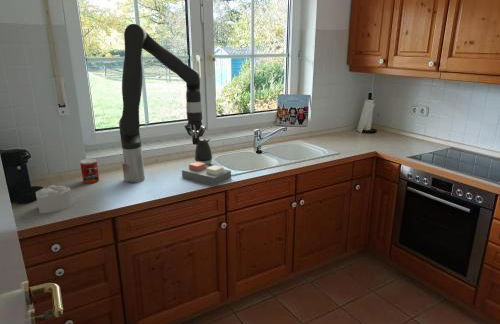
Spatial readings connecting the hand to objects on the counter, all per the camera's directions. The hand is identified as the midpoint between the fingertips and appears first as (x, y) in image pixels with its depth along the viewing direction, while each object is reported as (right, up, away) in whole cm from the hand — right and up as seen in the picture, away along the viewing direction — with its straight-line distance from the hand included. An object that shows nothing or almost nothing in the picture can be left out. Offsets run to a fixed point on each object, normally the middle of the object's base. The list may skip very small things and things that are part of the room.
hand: (196, 144), depth 188 cm
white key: (+10, -15, -2) cm, 18 cm away
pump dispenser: (+1, -11, +23) cm, 26 cm away
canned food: (-53, -19, -1) cm, 56 cm away
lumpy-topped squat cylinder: (-56, -28, -30) cm, 69 cm away
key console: (+5, -17, +2) cm, 18 cm away
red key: (0, -13, +4) cm, 14 cm away
